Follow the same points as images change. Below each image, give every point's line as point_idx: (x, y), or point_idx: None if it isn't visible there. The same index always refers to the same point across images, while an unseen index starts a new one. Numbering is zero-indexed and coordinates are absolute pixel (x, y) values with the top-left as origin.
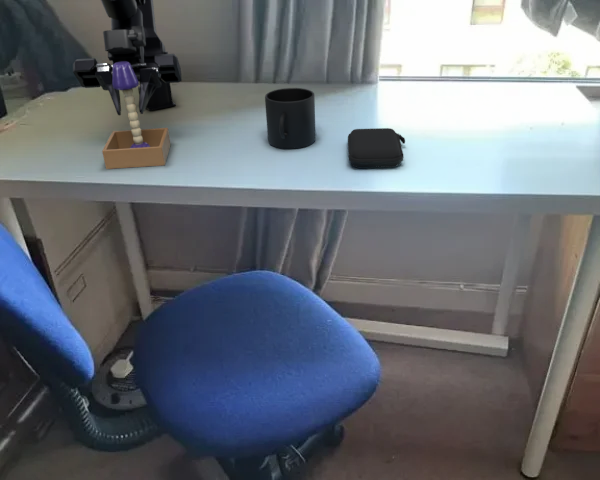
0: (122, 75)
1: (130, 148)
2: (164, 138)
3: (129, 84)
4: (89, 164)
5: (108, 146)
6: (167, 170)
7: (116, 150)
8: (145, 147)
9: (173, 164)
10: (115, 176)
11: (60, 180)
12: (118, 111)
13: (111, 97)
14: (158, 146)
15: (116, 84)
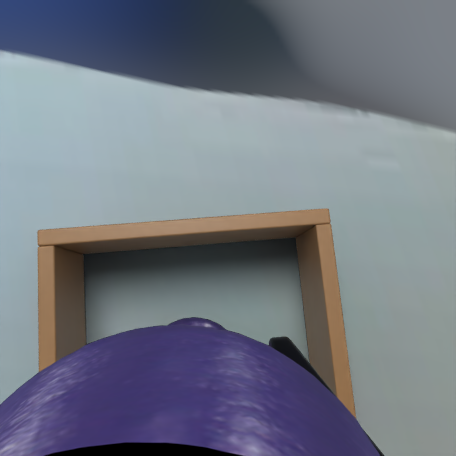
0: (91, 439)
1: (196, 227)
2: (39, 363)
3: (39, 382)
4: (392, 283)
5: (321, 283)
6: (53, 191)
7: (261, 214)
8: (122, 235)
9: (35, 252)
10: (249, 152)
11: (444, 136)
12: (275, 339)
13: (377, 448)
14: (55, 241)
15: (286, 367)
